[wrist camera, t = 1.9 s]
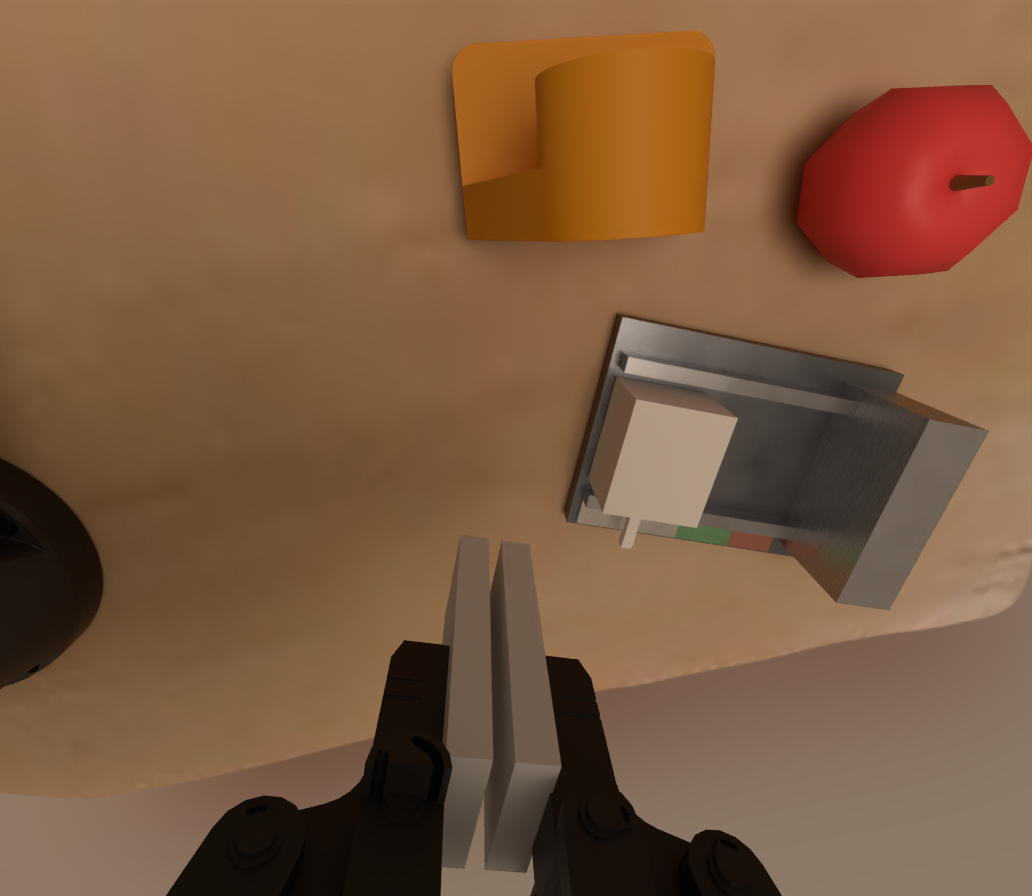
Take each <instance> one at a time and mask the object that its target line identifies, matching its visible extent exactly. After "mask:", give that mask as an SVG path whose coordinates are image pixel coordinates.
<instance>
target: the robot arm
mask: <svg viewBox="0 0 1032 896" xmlns="http://www.w3.org/2000/svg"><path fill="white" fill-rule="evenodd" d="M101 593H102V577H101V570H100V565H99V561H98V558H97V555H96V552H95V550H94V548H93V545H92V543H91V541H90V539H89V537H88V536H87V534H86V532H85V531H84V529H83V528H82V526H81V525H80V523H79V522H78V521H77V519H76V518H75V517H74V516H73V514H72V513H71V512H70V511H69V510H68V509H67V508H66V507H65V505H64V504H63V503H61V502H60V501H59V500H58V499H57V498H56V497H55V496H54V495H53V494H52V493H51V492H49V491H48V490H47V489H46V488H44V487H43V486H42V485H41V484H39V483H38V482H37V481H35V480H34V479H32V478H31V477H29V476H28V475H26V474H24V473H23V472H21V471H20V470H18V469H16V468H14V467H12V466H10V465H9V464H7V463H5V462H3V461H0V689H2V688H3V687H5V686H7V685H10V684H14V683H16V682H19V681H21V680H24V679H26V678H28V677H30V676H32V675H33V674H35V673H37V672H39V671H41V670H42V669H44V668H45V667H47V666H48V665H49V664H51V663H52V662H53V661H54V660H56V659H57V658H58V657H59V656H60V655H61V654H62V653H63V652H64V651H65V650H66V649H67V648H68V647H69V646H70V645H71V644H72V643H73V642H74V641H75V640H76V639H77V638H78V637H79V636H80V635H81V634H82V633H83V632H84V631H85V629H86V628H87V627H88V626H89V624H90V623H91V621H92V620H93V618H94V616H95V614H96V612H97V609H98V607H99V603H100V599H101ZM483 797H484V805H485V806H484V810H485V811H484V813H485V814H484V815H485V816H484V817H485V818H484V823H485V824H484V826H485V870H494V871H508V872H509V871H510V872H523V873H526V872H527V869H528V866H529V863H530V860H531V857H532V855H533V868H534V880H535V884H534V886H533V889H532V892H531V895H530V896H782V895H781V894H780V892H779V890H778V889H777V887H776V886H775V884H774V882H773V881H772V879H771V878H770V876H769V874H768V873H767V871H766V870H765V868H764V866H763V865H762V863H761V862H760V861H759V859H758V858H757V857H756V856H755V855H754V853H753V852H752V851H751V849H749V848H748V847H747V846H746V845H745V844H743V843H742V842H741V841H740V840H738V839H737V838H736V837H734V836H732V835H729V834H727V833H725V832H722V831H720V830H704V831H702V832H700V833H698V834H696V835H695V836H694V837H693V839H692V841H691V843H690V842H687V841H685V840H683V839H680V838H678V837H675V836H673V835H671V834H668V833H666V832H664V831H662V830H659V829H657V828H655V827H653V826H652V825H650V824H648V823H646V822H645V821H643V820H642V819H641V818H640V817H638V816H637V815H636V813H635V811H634V808H633V806H632V805H631V804H630V803H629V801H628V800H627V799H626V798H625V797H624V795H623V794H622V793H621V792H619V789H618V787H617V784H616V781H615V777H614V772H613V768H612V764H611V760H610V755H609V751H608V747H607V743H606V739H605V734H604V730H603V726H602V722H601V719H600V713H599V709H598V705H597V702H596V697H595V692H594V688H593V684H592V680H591V677H590V676H589V674H588V673H587V672H586V670H585V669H584V667H583V666H582V664H581V663H580V662H579V660H578V659H570V658H561V657H553V656H545V650H544V643H543V636H542V629H541V622H540V615H539V609H538V602H537V595H536V588H535V581H534V574H533V567H532V560H531V554H530V547H529V545H527V544H520V543H513V542H506V541H502V542H501V547H500V551H499V556H498V560H497V564H496V569H495V573H494V578H493V582H492V587H491V591H490V581H489V539H486V538H479V537H472V536H465V535H461V536H460V541H459V546H458V551H457V556H456V562H455V567H454V572H453V577H452V582H451V588H450V593H449V598H448V603H447V608H446V613H445V621H444V632H443V642H442V645H440V644H432V643H423V642H415V641H406V640H404V642H403V643H402V644H401V645H400V646H399V648H398V649H397V650H396V651H395V653H394V654H393V655H392V656H391V660H390V665H389V670H388V675H387V680H386V685H385V689H384V694H383V699H382V704H381V709H380V713H379V718H378V723H377V728H376V733H375V738H374V743H373V747H372V748H371V751H370V753H369V755H368V758H367V760H366V763H365V770H364V776H363V777H362V779H361V781H360V782H359V783H358V784H357V785H356V786H355V787H354V788H353V789H352V790H351V791H350V792H348V793H347V794H345V795H343V796H342V797H340V798H339V799H337V800H334V801H331V802H328V803H325V804H322V805H318V806H314V807H310V808H306V809H302V810H298V808H297V807H296V805H294V804H293V803H291V802H289V801H287V800H286V799H284V798H282V797H273V796H261V797H257V798H253V799H249V800H245V801H244V802H242V803H240V804H239V805H237V806H235V807H234V808H232V809H230V810H228V811H227V812H226V813H225V814H224V816H223V817H222V818H221V819H220V820H219V821H218V822H217V823H216V824H215V825H214V826H213V828H212V829H211V831H210V832H209V833H208V835H207V836H206V838H205V839H204V841H203V842H202V844H201V845H200V847H199V848H198V850H197V851H196V853H195V854H194V855H193V857H192V858H191V860H190V861H189V863H188V864H187V866H186V867H185V869H184V870H183V872H182V873H181V874H180V876H179V877H178V879H177V880H176V882H175V883H174V885H173V886H172V888H171V889H170V890H169V892H168V894H167V895H166V896H440V894H441V871H442V867H449V868H465V865H466V861H467V857H468V853H469V850H470V846H471V842H472V838H473V834H474V831H475V827H476V823H477V820H478V815H479V812H480V808H481V804H482V801H483Z"/></svg>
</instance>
